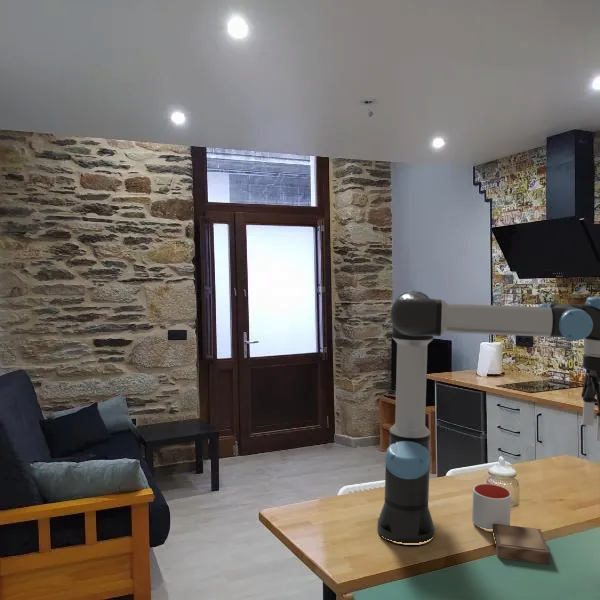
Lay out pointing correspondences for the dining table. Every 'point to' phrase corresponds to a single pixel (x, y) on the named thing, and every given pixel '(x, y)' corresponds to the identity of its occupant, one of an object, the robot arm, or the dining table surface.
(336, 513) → the dining table surface
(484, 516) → the cup
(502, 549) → the base
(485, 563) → the dining table surface
